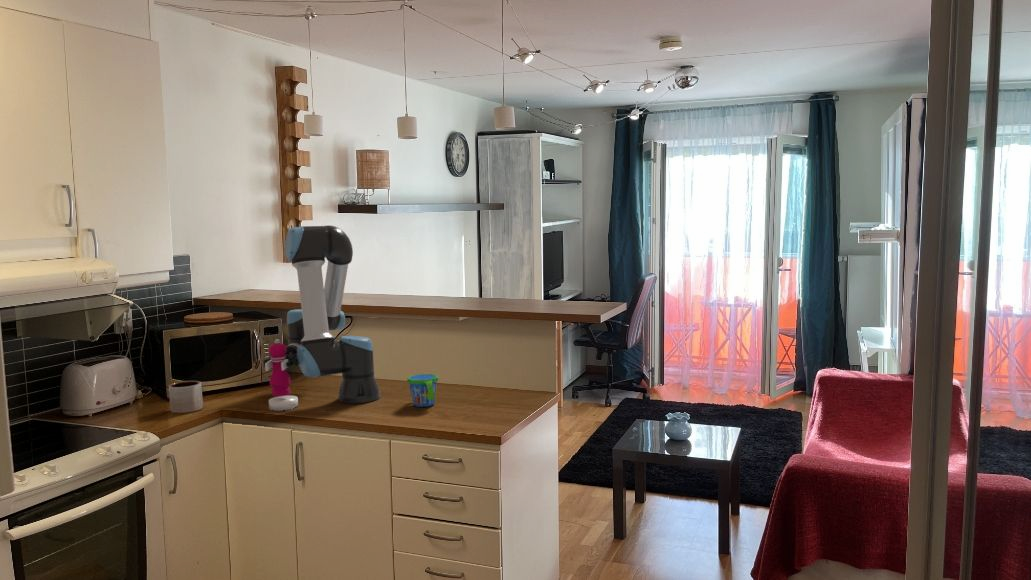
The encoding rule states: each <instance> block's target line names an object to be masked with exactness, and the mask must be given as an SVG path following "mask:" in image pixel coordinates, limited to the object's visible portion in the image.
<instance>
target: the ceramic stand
mask: <svg viewBox="0 0 1031 580" xmlns="http://www.w3.org/2000/svg"><path fill="white" fill-rule="evenodd" d="M297 406H298V407H299V398H298V396H296V395H284V396H274V397H271V398H269V399H268V409H269V410H270V411H272V410H273V412H274V411H275V412H282V411H283V410H285V411H289V410H290V409H291V410H294V409H296V408H295V407H297ZM298 407H297V408H298ZM293 408H294V409H293ZM291 410H290V411H291ZM283 412H284V411H283Z"/></svg>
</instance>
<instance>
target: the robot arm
mask: <svg viewBox="0 0 1031 580" xmlns="http://www.w3.org/2000/svg"><path fill="white" fill-rule="evenodd" d="M284 243H285V244H284V255H285V258H286V260H288V261H290V262H291V266H292V267H294V268H295V269H296V271H297V280H298V281H297V282H298V291H299V298H300V308H301V309H291V310H289V311H288V312H287V314H286V325H287V335H288V345H285V346H286V349H287V352H286V354H285V356H286V358H285V359H286V360H284V361H283V362H282V363H281V368H282V370H285V369H286V370H287V369H288V368H289V367H293V366H299V368H300V372H302V374H303V375H304V376H305V377H307V378H319V377H325V376H332V375H338V374H341V382H340V387H339V392H338V394H337V395H338V396H337V397H338V401H339V402H340V403H342V402H343V404H364V403H370V402H374V401H377V400H378V399H381V390H380V389H379V385H378V383H377V380H376V377H375V366H374V365H375V364H374V345H373V340H371V339H370V338H369V337H366V336H361V335H358V336H357V335H342V336H340V337H339V340H338V341H335V336H334V335H333V334H331V333H330V331H337V330H342V329H344V327H346V316H345V313H344V311H342V304H343V298H344V292H345V286H346V280H347V274H348V269H349V265H350V264H351V263H352V261H353V254H354V251H353V249H354V248H353V245H352V242H351V239H350V237H349V236H348V235H347V233H345V231H344V230H342V229H341V228H339V227H337V226H334V225H309V226H308V225H307V226H304V225H303V226H295V227H291V228H289V229H288V231H287V233H286V236H285V242H284ZM326 261H327V266H326V273H325V280H324V278H323V269H322V267H323V265H324V264H325V263H326ZM271 357H272V356H271V355H270V354H269V355H268V356H267V357H266V358H264V359H263V367H264V369H265V372H268V371H270V370H273V362H272V361H271Z"/></svg>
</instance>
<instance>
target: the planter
mask: <svg viewBox="0 0 1031 580" xmlns="http://www.w3.org/2000/svg"><path fill="white" fill-rule="evenodd" d="M168 394H169V408H170V409H169V410H170V412H171V413H174V414H178V413H182V414H189V413H190V412H191V413H194V412H198V411H201V410H202V409H203V408H204V400H203V391H202V381H199V380H184V381H183V380H182V381H177V382H174V383H170V384H169V385H168Z"/></svg>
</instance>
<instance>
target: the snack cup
mask: <svg viewBox="0 0 1031 580" xmlns="http://www.w3.org/2000/svg"><path fill="white" fill-rule="evenodd" d="M406 379H407V383H408V384H409V389H410V395H411V400H412V403H413V405H414V406H415V407H419V408H422V407H423V408H425V407H431V406H433V405H435V404H436V393H437V382H438V381H439V376H438V375H437V374H434V373H420V374H413V375H411V376H408V377H407V378H406Z"/></svg>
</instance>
